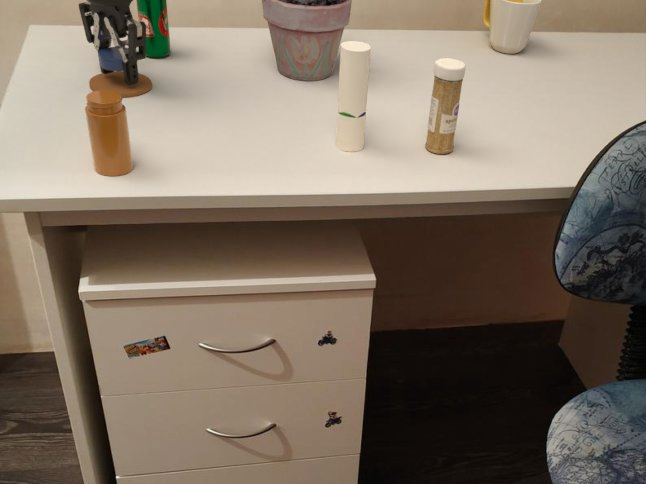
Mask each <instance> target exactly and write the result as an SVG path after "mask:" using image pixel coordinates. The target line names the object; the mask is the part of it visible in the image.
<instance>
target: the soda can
mask: <svg viewBox="0 0 646 484" xmlns="http://www.w3.org/2000/svg"><path fill="white" fill-rule="evenodd" d="M135 1H136V9H137V19H138V22H141V21H143V22H144V23H145V24H146V57H149V58H153V59H162V58H163V59H164V58H166V57H168V56H169V55H170V54H171V50H172V49H171V38H170V28H169V14H168V3H167V0H135Z"/></svg>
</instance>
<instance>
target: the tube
mask: <svg viewBox="0 0 646 484" xmlns="http://www.w3.org/2000/svg"><path fill="white" fill-rule="evenodd" d="M371 49H372V47H371V45H369V44H368V43H366V42H363V41H359V40H358V41H357V40H347V41H343V42H341V43H340V55H339V75H338V93H337V94H338V96H337V112H336V113H337V116H336V133H335V134H336V136H335V146H336V148H337V149H339V150H341V151H344V152H350V153H353V152H354V153H355V152H359V151H362V150H363V149H364V143H365V130H366V118H367V117H366V116H367V113H366V112H367V105H368V104H367V102H368V91H369V76H370V64H371V63H370V62H371Z"/></svg>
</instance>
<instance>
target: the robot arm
mask: <svg viewBox="0 0 646 484" xmlns="http://www.w3.org/2000/svg"><path fill="white" fill-rule="evenodd" d="M132 2H134V0H86V1H84V2H80V3H79V4H78V9H79V13H80V19H81V21H82V25H83V26H82V27H83V30H84V33H85V37H86V41H87V42H88V44H93V47H94V49H95V50H96V51H97V53H98V52H99V51H100V50H102V49H104V48H109V47H112V44H113V47H116V48H118V49H119V52H120V55H121V57H122V60H123V62H122V65H123V73H124V81H125V83H126V84H127V85H133V84H136V83H138V79H139V77H138V73H139V70H138V61H141V60H145V59H146V57H147V56H146V24H145V23H144V22H143V21H141V22H139V21H137V20H135V19H134V18H133V13H132V11H131V8H130V6H131V4H132ZM92 27H93V28H92ZM126 37H127V39H126V40H121V39H124V38H126ZM112 42H113V43H112ZM126 46H127V48H128V54H127V52H126V49H125V48H126ZM137 48H138V50H137ZM97 57H98V58H99V56H98V55H97ZM98 63H99V68H100V72H101V73H104V74H109V73H112V72H114V71H110V70H106V69H103V68H102V67H101V66H100V62H99V61H98Z"/></svg>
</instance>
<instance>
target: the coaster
mask: <svg viewBox="0 0 646 484" xmlns="http://www.w3.org/2000/svg"><path fill="white" fill-rule="evenodd" d="M138 77H139V79H138V83H136V84H133V85H127V84H126V83H125V81H124V73H123V71H114V72H112V73H109V74H104V73H102V72H101V73H98V74H96V75H94V76H92V77H91V78H89V81H88V85H89V89H90V90H91V92H94V91H99V90H109V91H114V92H117V93H119V94H120V95H121V96H122V98H131V97H137V96H138V97H139V96H142V95H144V94H146V93H148V92H150V91H151V90H152V88H153V81H152V79H151V78H150V77H148V76H147V75H145V74H143V73H139V72H138Z"/></svg>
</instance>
